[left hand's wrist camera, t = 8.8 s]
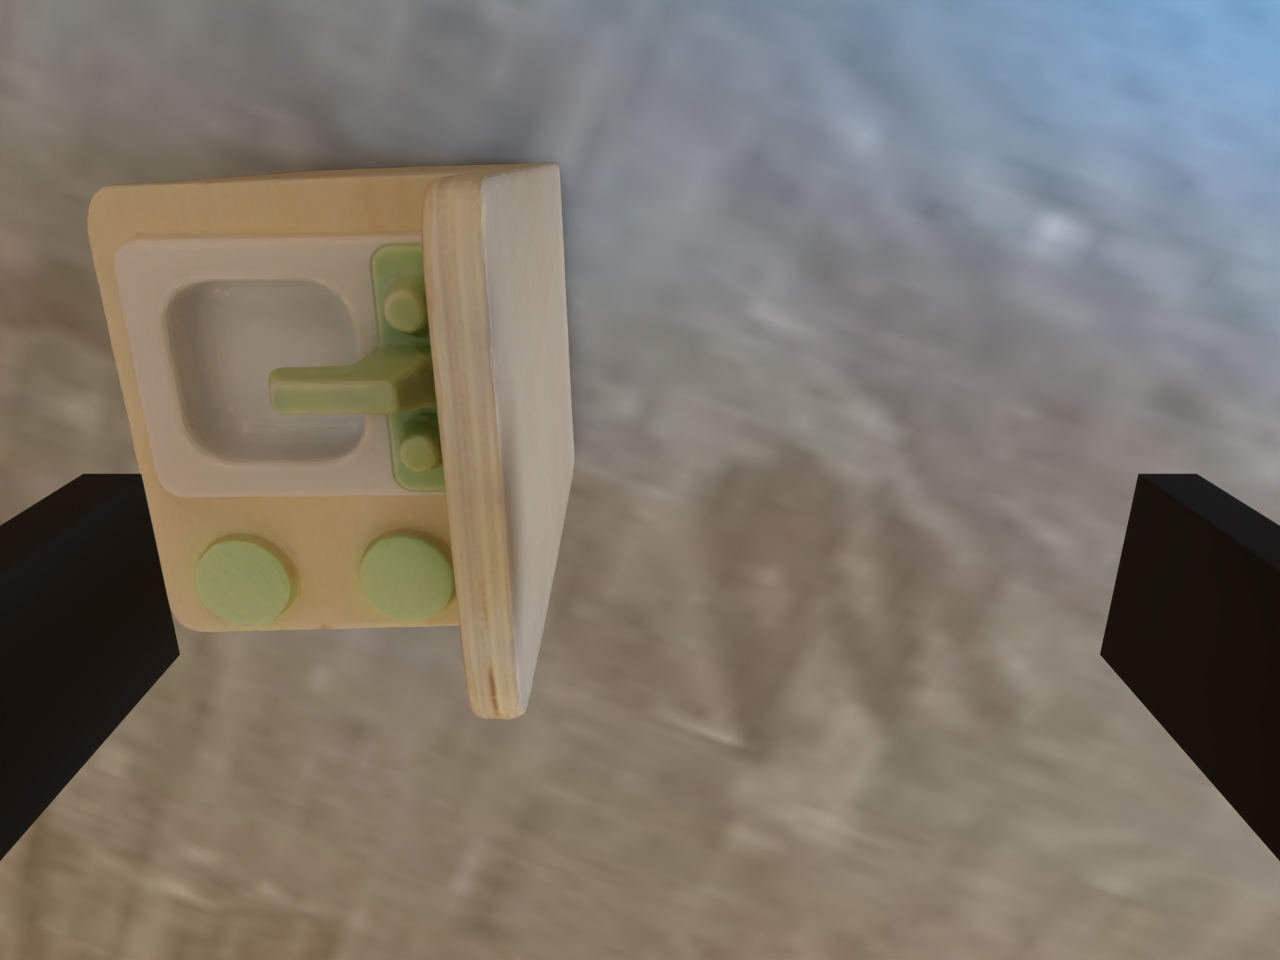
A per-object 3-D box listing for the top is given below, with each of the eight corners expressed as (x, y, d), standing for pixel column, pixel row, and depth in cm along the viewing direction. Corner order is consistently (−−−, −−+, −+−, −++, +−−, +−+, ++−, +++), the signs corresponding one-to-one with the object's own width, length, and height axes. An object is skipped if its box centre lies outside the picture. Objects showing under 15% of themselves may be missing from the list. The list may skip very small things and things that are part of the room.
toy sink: (275, 162, 24) (-108, 197, 11) (559, 153, 24) (485, 179, 11) (326, 471, 27) (68, 763, 14) (577, 463, 27) (533, 748, 14)
